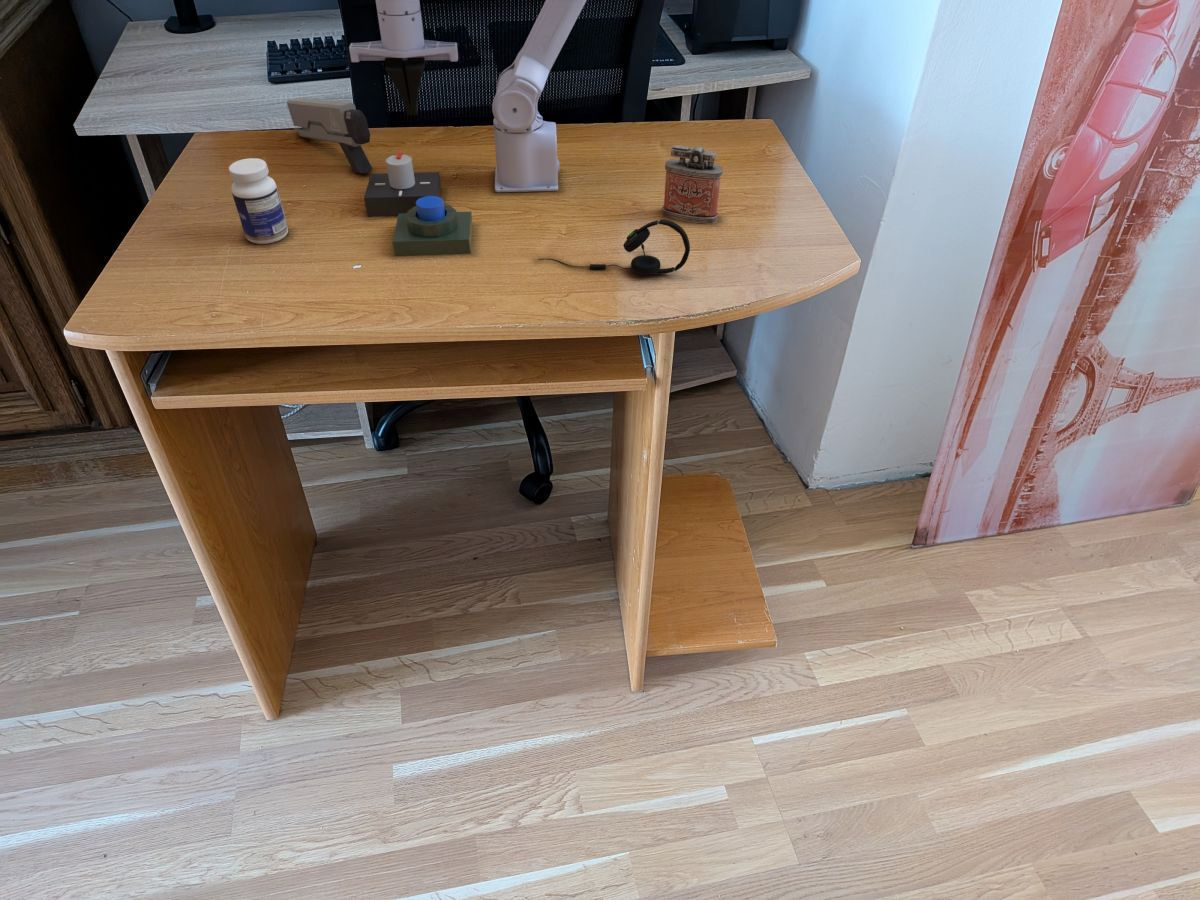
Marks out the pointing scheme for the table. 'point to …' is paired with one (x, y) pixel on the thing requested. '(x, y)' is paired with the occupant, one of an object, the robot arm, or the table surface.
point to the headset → (644, 262)
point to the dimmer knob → (400, 171)
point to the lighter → (692, 185)
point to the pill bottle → (257, 201)
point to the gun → (333, 127)
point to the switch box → (433, 234)
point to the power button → (430, 208)
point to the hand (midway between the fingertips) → (412, 112)
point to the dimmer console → (398, 193)
